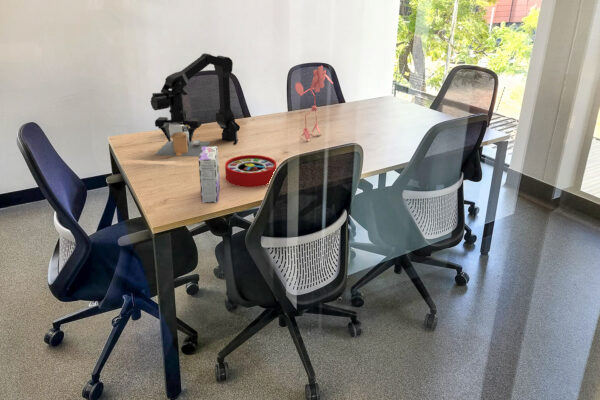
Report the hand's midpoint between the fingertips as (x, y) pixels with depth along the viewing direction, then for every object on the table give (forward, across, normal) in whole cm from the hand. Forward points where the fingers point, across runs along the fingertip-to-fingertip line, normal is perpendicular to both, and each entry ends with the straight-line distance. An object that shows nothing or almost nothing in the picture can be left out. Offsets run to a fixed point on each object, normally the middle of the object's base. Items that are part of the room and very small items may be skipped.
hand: (180, 141), depth 210 cm
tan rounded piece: (+4, 0, 0) cm, 4 cm away
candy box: (+6, -23, +41) cm, 47 cm away
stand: (+6, 0, -4) cm, 8 cm away
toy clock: (+6, -35, +22) cm, 41 cm away
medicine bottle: (+6, +8, -24) cm, 27 cm away
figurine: (+6, -59, -29) cm, 66 cm away
